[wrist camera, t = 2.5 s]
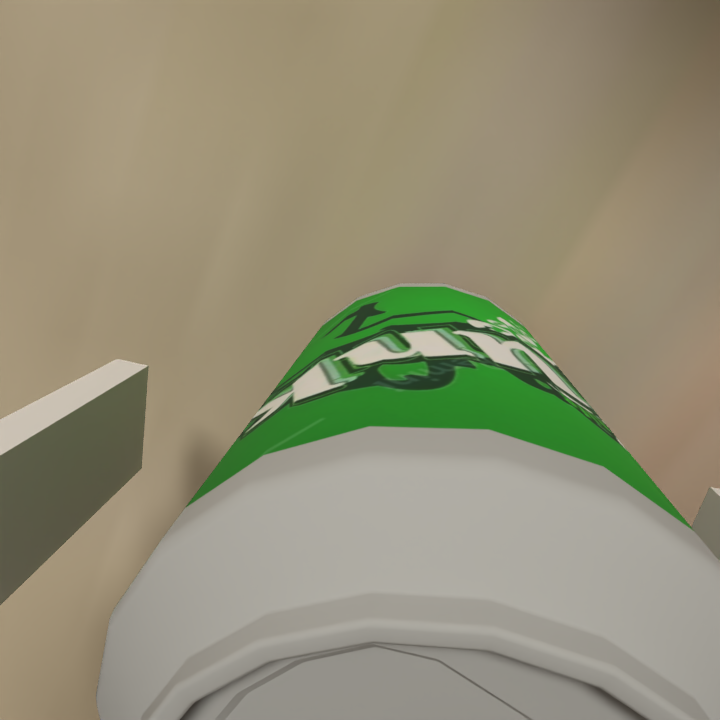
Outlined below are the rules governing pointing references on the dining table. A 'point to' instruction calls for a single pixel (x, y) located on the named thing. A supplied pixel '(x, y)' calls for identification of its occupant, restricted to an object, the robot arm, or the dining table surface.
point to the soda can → (421, 547)
